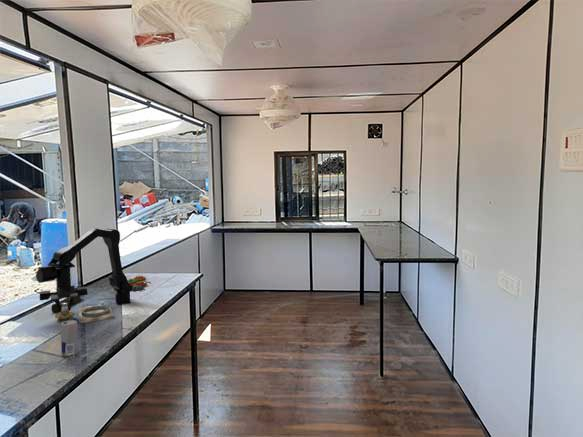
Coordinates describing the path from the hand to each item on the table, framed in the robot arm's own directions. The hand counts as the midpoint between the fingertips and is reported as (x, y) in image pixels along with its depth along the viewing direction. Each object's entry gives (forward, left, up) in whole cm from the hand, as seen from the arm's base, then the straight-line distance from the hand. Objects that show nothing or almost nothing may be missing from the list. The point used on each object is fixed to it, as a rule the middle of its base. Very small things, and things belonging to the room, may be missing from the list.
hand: (64, 311), depth 178 cm
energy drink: (-1, +42, -4) cm, 42 cm away
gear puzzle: (-38, -48, -4) cm, 61 cm away
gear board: (-12, -1, -4) cm, 13 cm away
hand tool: (-1, -21, -4) cm, 22 cm away
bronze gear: (0, 0, -2) cm, 2 cm away
